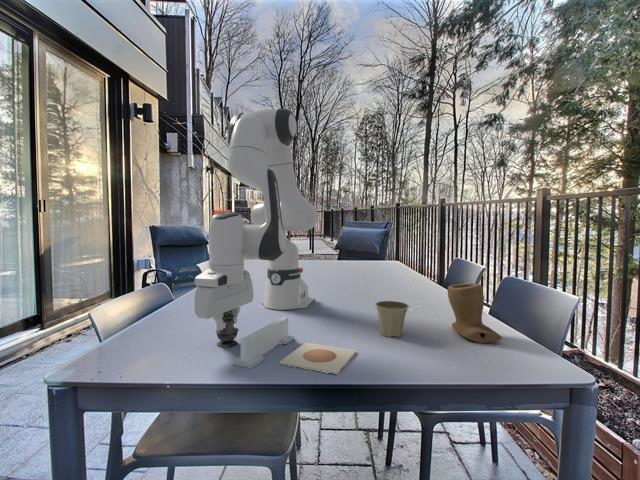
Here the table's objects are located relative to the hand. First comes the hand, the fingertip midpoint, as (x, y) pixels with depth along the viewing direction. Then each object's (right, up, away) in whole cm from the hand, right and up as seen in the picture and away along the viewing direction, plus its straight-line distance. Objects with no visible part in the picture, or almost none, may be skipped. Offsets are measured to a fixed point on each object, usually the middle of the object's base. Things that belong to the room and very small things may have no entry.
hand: (227, 326), depth 95 cm
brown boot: (+68, -5, +9) cm, 68 cm away
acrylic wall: (+11, -5, -4) cm, 13 cm away
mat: (+24, -6, -9) cm, 26 cm away
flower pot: (+45, -5, +10) cm, 46 cm away
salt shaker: (0, -5, 0) cm, 5 cm away
